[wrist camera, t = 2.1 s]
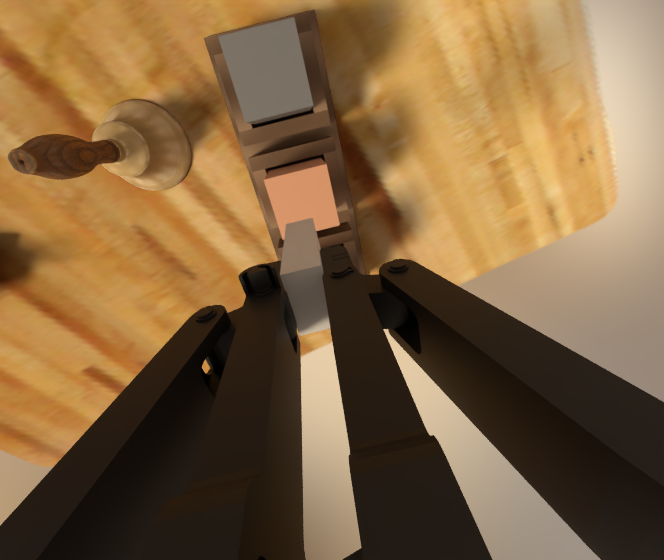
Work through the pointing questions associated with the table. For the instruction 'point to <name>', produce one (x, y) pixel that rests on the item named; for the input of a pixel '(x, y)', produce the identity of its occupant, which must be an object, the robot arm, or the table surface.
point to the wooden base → (294, 139)
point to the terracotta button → (302, 195)
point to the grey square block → (268, 71)
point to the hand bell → (114, 149)
